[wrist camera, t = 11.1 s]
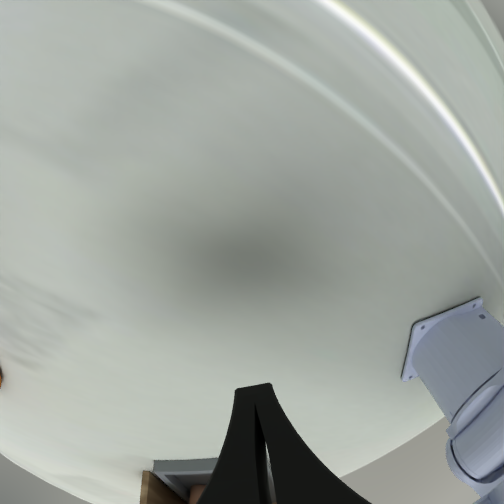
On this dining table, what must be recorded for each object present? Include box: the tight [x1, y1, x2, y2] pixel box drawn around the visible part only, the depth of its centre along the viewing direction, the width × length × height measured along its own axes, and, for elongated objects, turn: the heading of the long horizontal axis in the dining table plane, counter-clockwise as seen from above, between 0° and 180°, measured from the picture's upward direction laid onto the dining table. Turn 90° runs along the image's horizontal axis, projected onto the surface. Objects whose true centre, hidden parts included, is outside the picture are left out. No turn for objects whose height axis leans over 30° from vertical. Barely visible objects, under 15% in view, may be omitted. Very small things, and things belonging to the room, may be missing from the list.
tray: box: [153, 458, 276, 504], centre depth 32 cm, size 14×18×2 cm
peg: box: [189, 485, 206, 504], centre depth 31 cm, size 4×4×4 cm
